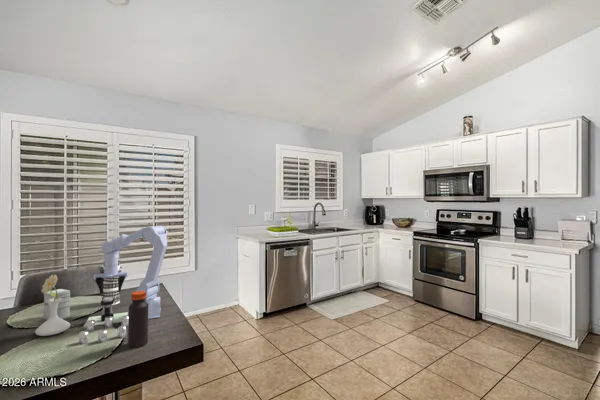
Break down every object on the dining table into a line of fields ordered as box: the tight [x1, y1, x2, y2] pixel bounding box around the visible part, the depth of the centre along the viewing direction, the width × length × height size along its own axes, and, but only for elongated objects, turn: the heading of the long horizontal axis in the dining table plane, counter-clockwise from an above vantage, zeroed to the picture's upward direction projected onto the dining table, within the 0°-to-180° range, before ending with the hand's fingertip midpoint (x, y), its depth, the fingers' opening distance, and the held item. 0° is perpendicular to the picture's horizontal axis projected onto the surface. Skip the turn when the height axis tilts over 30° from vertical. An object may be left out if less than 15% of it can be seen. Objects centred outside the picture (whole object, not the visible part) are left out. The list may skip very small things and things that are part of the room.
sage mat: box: [82, 311, 129, 328], centre depth 138 cm, size 16×12×1 cm
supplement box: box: [43, 288, 71, 321], centre depth 140 cm, size 7×7×13 cm
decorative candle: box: [101, 257, 122, 306], centre depth 161 cm, size 9×9×25 cm
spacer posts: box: [78, 314, 129, 345], centre depth 124 cm, size 16×18×4 cm
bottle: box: [127, 291, 149, 349], centre depth 115 cm, size 7×7×20 cm
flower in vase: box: [35, 274, 71, 337], centre depth 124 cm, size 13×11×25 cm
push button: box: [97, 297, 114, 322], centre depth 137 cm, size 7×5×10 cm
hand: (110, 292), depth 147 cm, fingers open, 7 cm apart
